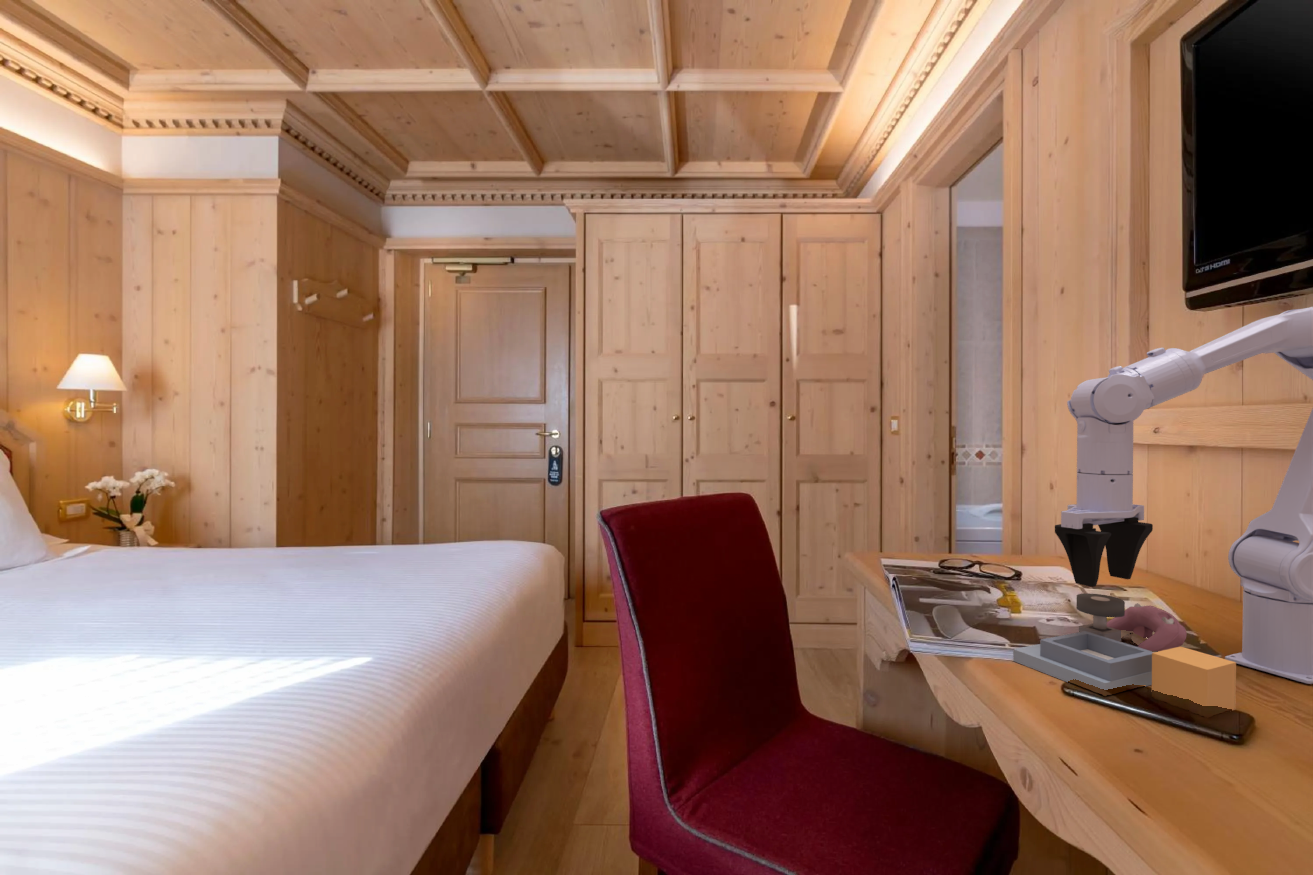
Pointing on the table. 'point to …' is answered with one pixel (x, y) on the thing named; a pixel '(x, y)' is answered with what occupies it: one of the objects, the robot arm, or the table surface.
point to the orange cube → (1195, 677)
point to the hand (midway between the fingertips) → (1103, 581)
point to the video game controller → (1151, 627)
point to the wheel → (1100, 608)
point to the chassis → (1089, 658)
